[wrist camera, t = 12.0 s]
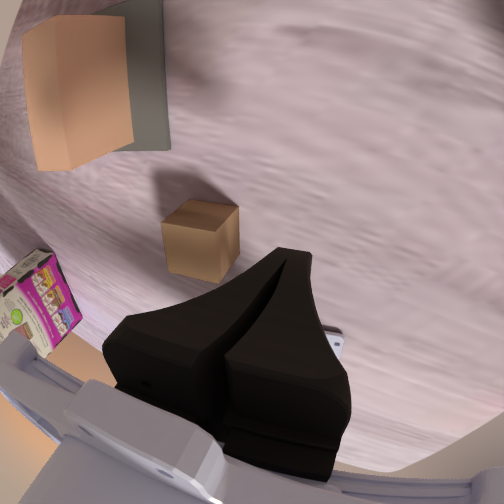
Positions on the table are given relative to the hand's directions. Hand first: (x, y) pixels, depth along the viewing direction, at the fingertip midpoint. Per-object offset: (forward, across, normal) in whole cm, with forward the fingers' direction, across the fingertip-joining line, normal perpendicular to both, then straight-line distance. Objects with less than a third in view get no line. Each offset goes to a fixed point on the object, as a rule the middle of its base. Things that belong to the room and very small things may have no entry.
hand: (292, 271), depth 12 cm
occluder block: (+9, +16, -8) cm, 20 cm away
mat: (+9, +16, -8) cm, 20 cm away
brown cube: (+10, +8, +4) cm, 13 cm away
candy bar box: (+10, +33, +16) cm, 38 cm away
